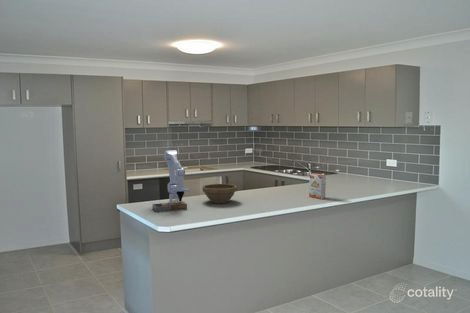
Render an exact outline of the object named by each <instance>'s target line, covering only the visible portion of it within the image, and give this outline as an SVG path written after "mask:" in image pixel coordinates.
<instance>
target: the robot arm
mask: <svg viewBox="0 0 470 313" xmlns="http://www.w3.org/2000/svg"><path fill="white" fill-rule="evenodd" d="M163 157H164V162H166V164H167V170H168V175H169V182H168V183H167V192H168V193H169V194H168V197H169V198H168V199H169V201H168V202H172V199H178V201H183V197H184V195H185V192H186V193H187V192H188V193H189V192H190V188H185V183H184V182H185V181H184V180H185V175H186V171H185V168H183V167H182V164H181V163H180V161H178V150H177V149H174V150H172V149H171V150H164V152H163Z"/></svg>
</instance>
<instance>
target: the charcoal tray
mask: <svg viewBox="0 0 470 313" xmlns="http://www.w3.org/2000/svg"><path fill="white" fill-rule="evenodd" d="M165 203H167V204H168V202H162V203H161V202H160V203H152V210H153V211H154V212H155V213H157V212H160V211H161V212H169V211H170V212H171V211H172V210H171V205H170V204H168V206H162V207H161V204H165Z"/></svg>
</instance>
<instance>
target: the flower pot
mask: <svg viewBox="0 0 470 313" xmlns="http://www.w3.org/2000/svg"><path fill="white" fill-rule="evenodd" d="M237 191H238V187H237V185H236V184H232V183H231V184H230V183H212V184H205V185H203V186H202V192H203V193H204V194H205V195H206V197H207V198H208V200H209V201H210V202H211V203H214V204H225V203H228V202H229V201H230V200H231V199H232V197H233V196H234V195H235V193H236V192H237Z"/></svg>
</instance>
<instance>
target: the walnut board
mask: <svg viewBox="0 0 470 313" xmlns="http://www.w3.org/2000/svg"><path fill="white" fill-rule="evenodd" d="M167 203H168V204H170V205H171V211H184V210H188V204H187V203H186V202H185V201H183V200H182V201H178V203H172V202H169V201H168V202H167Z"/></svg>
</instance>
